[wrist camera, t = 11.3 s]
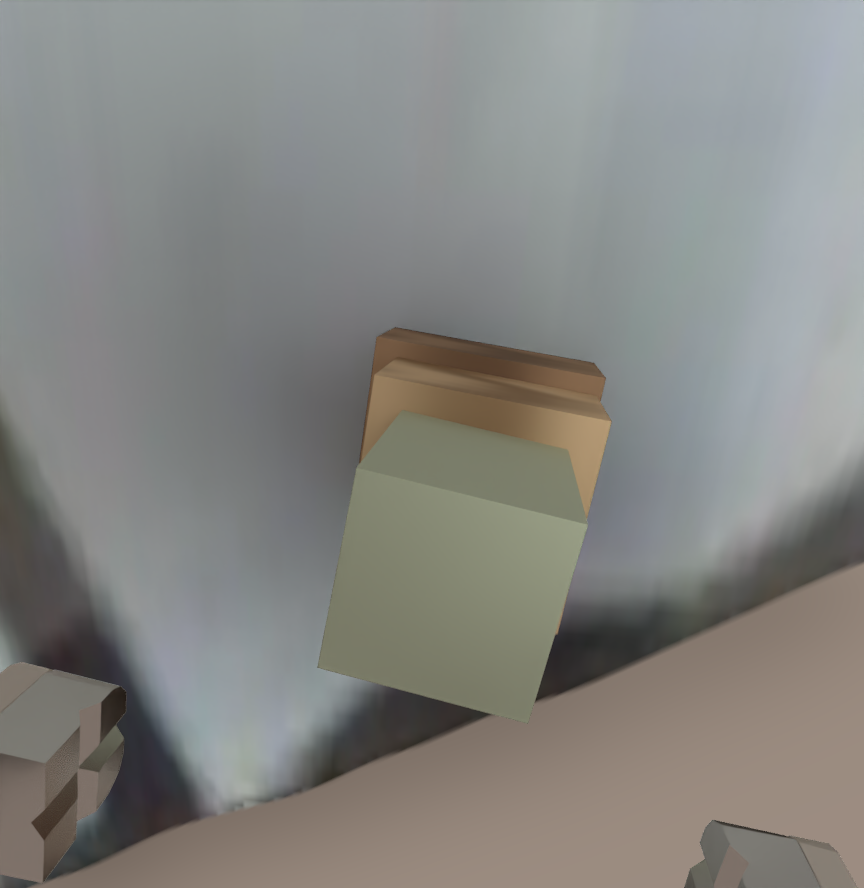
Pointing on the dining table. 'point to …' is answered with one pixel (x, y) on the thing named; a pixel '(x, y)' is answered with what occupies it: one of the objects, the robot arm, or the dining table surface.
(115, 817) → the dining table surface
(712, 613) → the dining table surface
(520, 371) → the tower base
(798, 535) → the dining table surface
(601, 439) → the tower top
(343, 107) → the dining table surface
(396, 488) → the green block
